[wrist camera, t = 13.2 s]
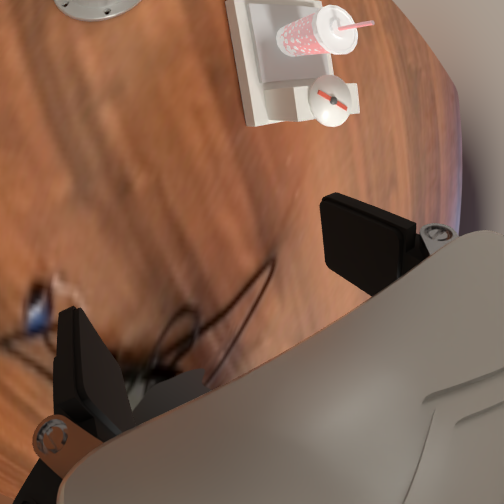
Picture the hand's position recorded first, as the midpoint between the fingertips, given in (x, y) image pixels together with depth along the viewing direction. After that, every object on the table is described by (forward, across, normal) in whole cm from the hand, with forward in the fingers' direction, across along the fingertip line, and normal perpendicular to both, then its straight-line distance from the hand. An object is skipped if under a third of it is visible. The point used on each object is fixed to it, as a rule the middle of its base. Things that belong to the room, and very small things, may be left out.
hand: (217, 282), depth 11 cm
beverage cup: (+26, -24, -11) cm, 37 cm away
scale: (+29, -24, -9) cm, 38 cm away
